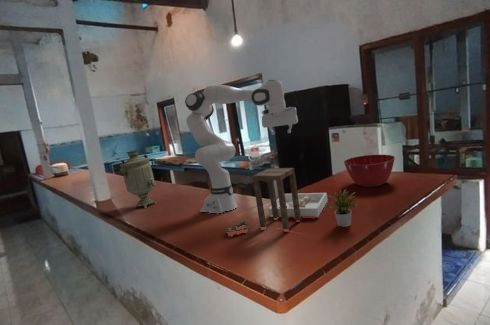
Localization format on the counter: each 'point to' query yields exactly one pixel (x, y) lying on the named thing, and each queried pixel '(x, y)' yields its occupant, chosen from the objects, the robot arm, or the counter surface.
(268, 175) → the walnut stand
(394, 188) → the counter surface
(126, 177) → the samovar
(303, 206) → the mallet
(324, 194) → the grey tray
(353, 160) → the mixing bowl
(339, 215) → the house plant
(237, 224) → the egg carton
